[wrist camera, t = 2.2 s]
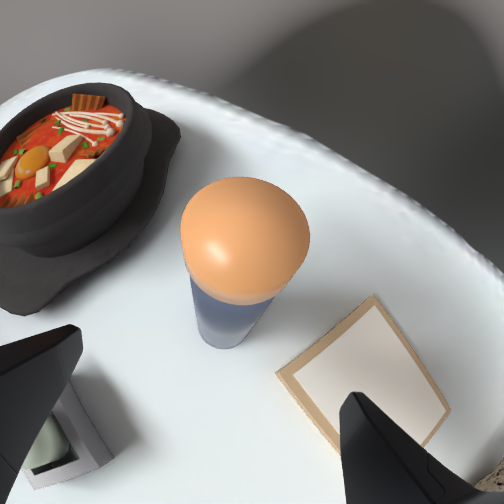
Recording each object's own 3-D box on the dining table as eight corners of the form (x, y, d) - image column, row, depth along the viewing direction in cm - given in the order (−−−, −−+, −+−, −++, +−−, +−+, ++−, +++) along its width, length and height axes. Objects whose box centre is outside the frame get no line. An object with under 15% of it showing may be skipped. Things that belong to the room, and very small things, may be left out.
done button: (79, 450, 12) (52, 461, 9) (44, 464, 11) (15, 474, 7) (51, 399, 13) (20, 398, 10) (19, 416, 12) (-14, 416, 8)
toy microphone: (260, 331, 20) (334, 246, 8) (215, 360, 18) (227, 316, 7) (230, 289, 21) (260, 162, 9) (186, 315, 19) (158, 207, 8)
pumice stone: (501, 428, 17) (551, 420, 10) (507, 484, 12) (549, 483, 5) (426, 512, 13) (483, 527, 6) (438, 559, 8) (482, 573, 1)
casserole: (102, 106, 29) (92, 53, 22) (223, 149, 28) (231, 79, 20) (-33, 255, 17) (-77, 213, 10) (65, 370, 16) (-4, 352, 9)
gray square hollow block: (114, 458, 14) (99, 467, 11) (52, 481, 11) (34, 490, 8) (66, 374, 16) (46, 370, 13) (11, 404, 13) (-11, 402, 10)
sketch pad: (444, 410, 18) (452, 409, 17) (372, 492, 14) (380, 495, 13) (367, 298, 22) (374, 293, 21) (275, 373, 18) (279, 372, 17)
